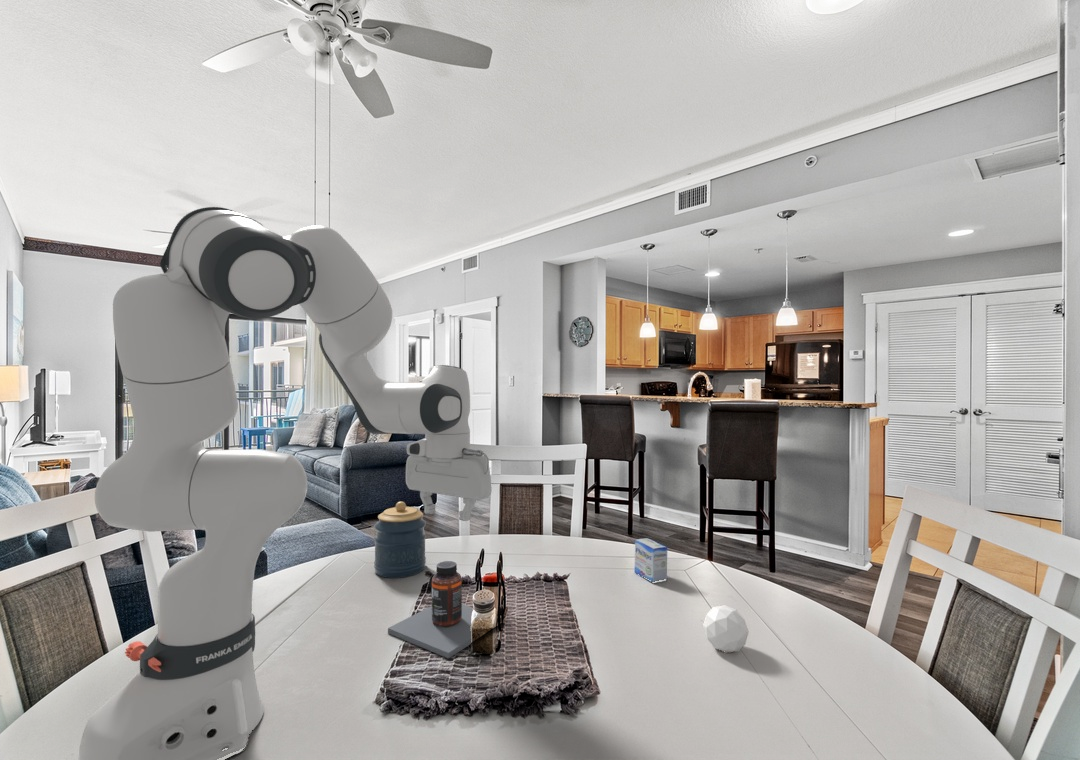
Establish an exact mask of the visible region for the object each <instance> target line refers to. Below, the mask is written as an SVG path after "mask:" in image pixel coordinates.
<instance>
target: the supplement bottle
mask: <svg viewBox="0 0 1080 760" xmlns="http://www.w3.org/2000/svg"><path fill="white" fill-rule="evenodd" d="M457 570H458V568H457V562H455V561H452V560H445V561H440V562H439V563H437V564H436V573H435V574H434V575H433V577H432V579H431V606H432V621H433V623H434V624H436V625H439V626H451V625H454V624H456V623H458V622H459V621H460V620H461V617H462V604H463V602H462V601H463V599H462V598H463V596H462V595H463V593H462V592H463V591H462V590H463V588H462V587H463V586H462V575H461V574H460V573H459V572H458V571H457Z"/></svg>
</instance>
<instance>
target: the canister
mask: <svg viewBox="0 0 1080 760" xmlns="http://www.w3.org/2000/svg"><path fill="white" fill-rule="evenodd" d="M423 515H424V513H423V512H422V511H421V510H419V509H417V508H416V507H414V506H413V507H412V506H407V504H406V503H405V502H404V501H398V502H396V504H395V506H394V507H390V508H387V509H385V510H384V511H383V512H381V513H380V514H378V515H377V518H378V520H379V521H377V522H376V523H375V524H374V529H375V530H376V532H375V533H376V535H375V537H374V562H373V563H374V565H373V568H374V571H375V574H377V575H378V576H379V577H382V578H388V579H389V578H390V579H391V578H392V579H398V578H408V577H410V576H411V577H412V576H415V575H417V574H419V573H421V572H422V571H423V570H424V569H425V565H426V562H427V561H426V559H427V558H426V536H427V534H426V533H425V526H426V525H427V522H426V520H425V519H423V518H422V517H423Z"/></svg>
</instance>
